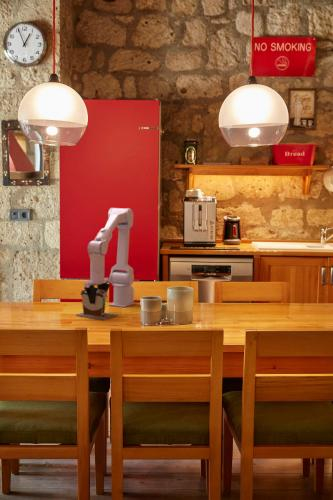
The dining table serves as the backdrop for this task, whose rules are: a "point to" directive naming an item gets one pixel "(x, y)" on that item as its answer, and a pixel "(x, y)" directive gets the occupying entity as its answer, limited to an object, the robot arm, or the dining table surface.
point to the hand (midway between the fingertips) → (97, 302)
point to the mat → (106, 316)
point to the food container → (96, 308)
